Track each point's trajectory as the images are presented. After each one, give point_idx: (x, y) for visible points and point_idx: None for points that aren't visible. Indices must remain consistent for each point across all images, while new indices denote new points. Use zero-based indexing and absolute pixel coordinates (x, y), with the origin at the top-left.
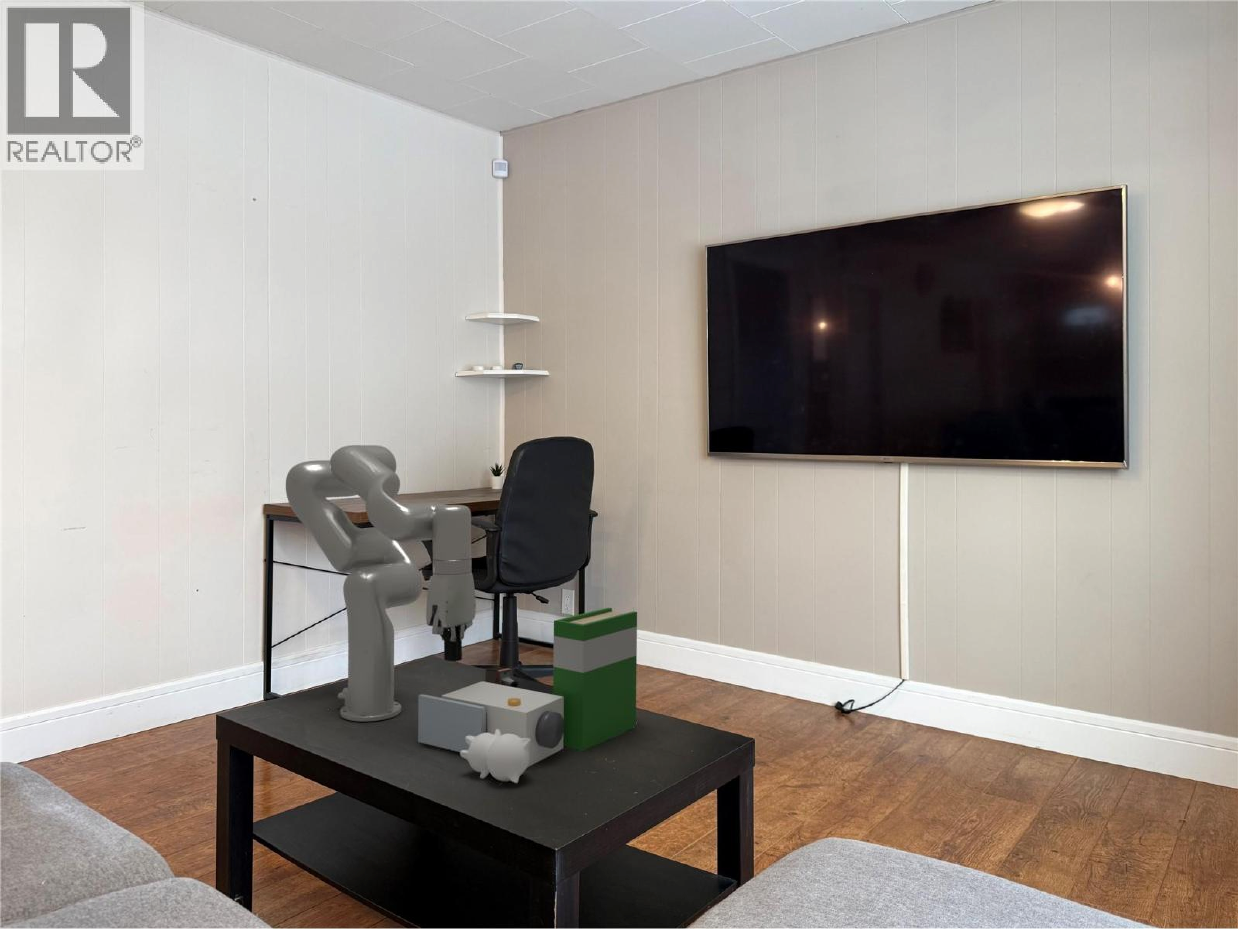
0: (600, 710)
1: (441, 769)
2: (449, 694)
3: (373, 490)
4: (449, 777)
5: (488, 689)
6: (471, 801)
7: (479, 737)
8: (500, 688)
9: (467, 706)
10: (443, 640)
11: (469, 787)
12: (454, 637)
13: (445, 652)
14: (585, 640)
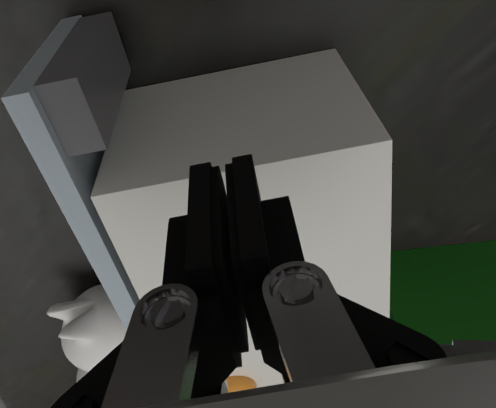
0: None
1: (39, 218)
2: (130, 205)
3: None
4: (34, 263)
5: (304, 248)
6: (19, 356)
7: (82, 367)
8: (346, 264)
9: (120, 315)
10: (156, 295)
11: (47, 317)
12: (213, 392)
13: (168, 238)
14: None
